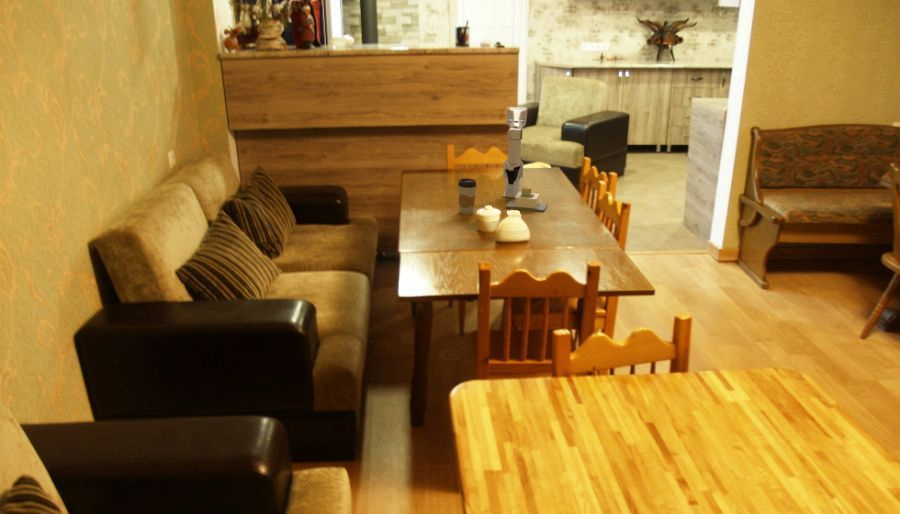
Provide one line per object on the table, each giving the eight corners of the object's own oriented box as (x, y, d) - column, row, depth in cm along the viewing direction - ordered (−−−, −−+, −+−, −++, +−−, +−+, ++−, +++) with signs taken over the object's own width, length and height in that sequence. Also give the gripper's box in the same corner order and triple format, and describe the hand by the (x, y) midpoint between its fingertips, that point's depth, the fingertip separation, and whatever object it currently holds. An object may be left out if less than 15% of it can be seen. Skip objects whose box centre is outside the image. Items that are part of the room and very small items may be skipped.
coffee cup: (453, 213, 313) (455, 181, 308) (462, 208, 320) (463, 177, 315) (470, 216, 310) (471, 183, 304) (478, 211, 317) (479, 179, 311)
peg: (521, 203, 329) (523, 186, 326) (530, 203, 328) (531, 187, 325) (520, 205, 325) (521, 188, 322) (529, 206, 324) (530, 189, 321)
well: (510, 201, 334) (510, 190, 332) (547, 205, 330) (548, 194, 328) (505, 208, 323) (506, 196, 321) (544, 212, 319) (544, 200, 317)
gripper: (508, 150, 330) (506, 178, 335) (502, 156, 317) (501, 185, 321) (522, 152, 328) (521, 179, 333) (518, 157, 315) (516, 186, 320)
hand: (512, 182), depth 327 cm, fingers open, 7 cm apart
